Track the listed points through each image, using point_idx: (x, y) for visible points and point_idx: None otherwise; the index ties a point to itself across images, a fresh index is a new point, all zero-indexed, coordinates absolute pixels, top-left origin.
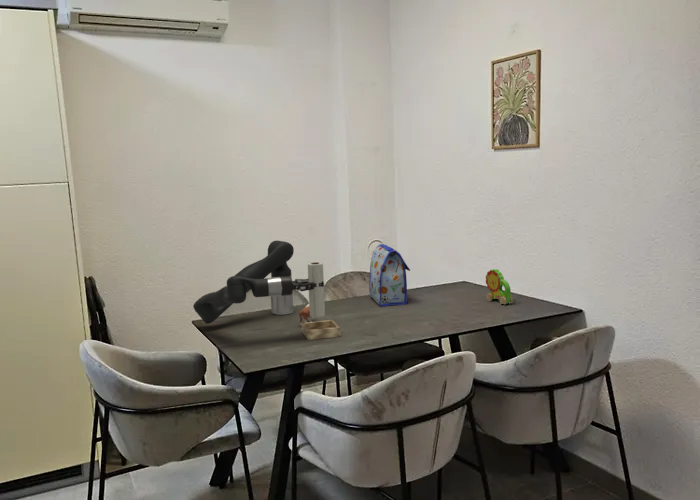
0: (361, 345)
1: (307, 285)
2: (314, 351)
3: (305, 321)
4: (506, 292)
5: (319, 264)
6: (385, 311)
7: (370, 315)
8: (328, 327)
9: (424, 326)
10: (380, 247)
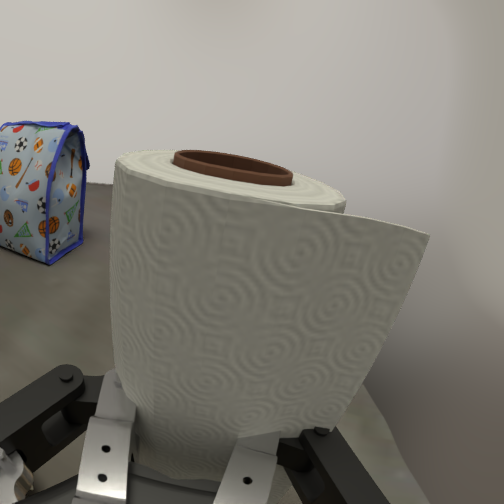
0: (372, 441)
1: (368, 490)
2: None
3: (31, 488)
4: None
5: (323, 183)
6: (89, 279)
7: (88, 309)
8: None
9: None
10: (15, 126)
